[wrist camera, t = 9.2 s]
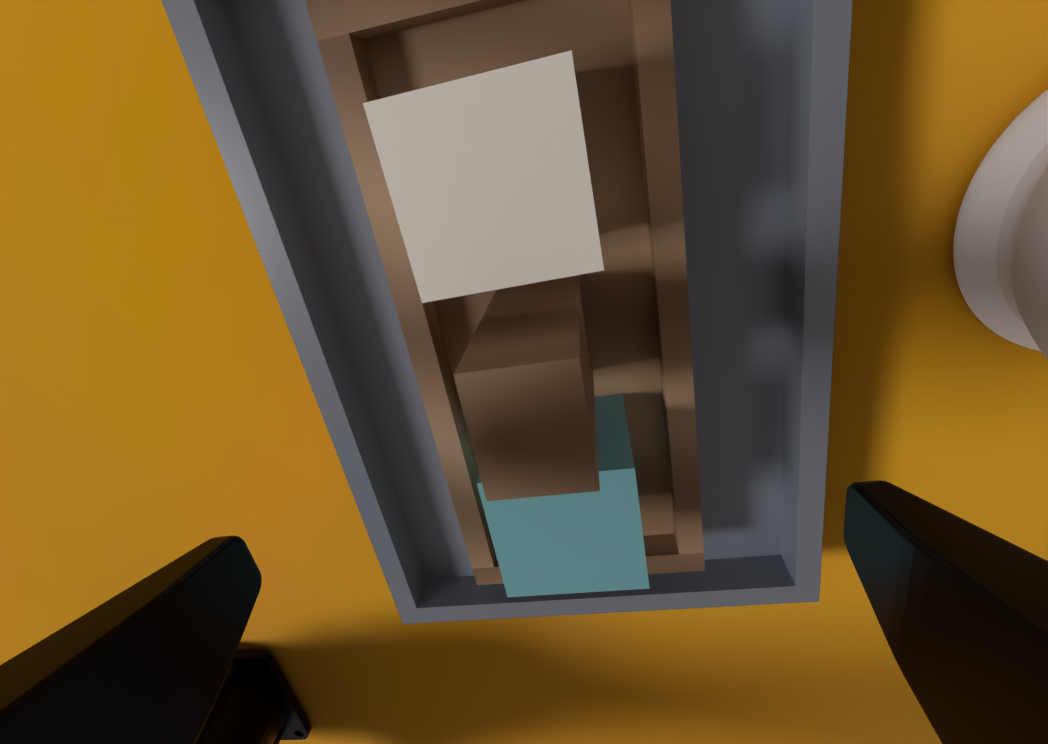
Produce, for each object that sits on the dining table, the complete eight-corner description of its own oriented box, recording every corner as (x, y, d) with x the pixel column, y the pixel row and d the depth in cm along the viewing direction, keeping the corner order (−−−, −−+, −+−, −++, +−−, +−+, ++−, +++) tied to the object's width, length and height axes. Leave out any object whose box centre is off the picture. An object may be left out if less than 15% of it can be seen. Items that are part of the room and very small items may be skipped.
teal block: (635, 496, 18) (649, 588, 14) (521, 506, 19) (507, 597, 15) (622, 393, 16) (634, 467, 13) (498, 408, 17) (476, 483, 13)
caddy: (693, 529, 20) (747, 720, 13) (486, 545, 21) (445, 726, 15) (652, -63, 12) (728, -258, 6) (341, 16, 14) (138, -77, 7)
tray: (793, 550, 21) (818, 601, 19) (420, 575, 23) (402, 623, 21) (813, -218, 12) (868, -299, 10) (203, -42, 14) (132, -74, 12)
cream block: (597, 234, 14) (604, 270, 11) (459, 261, 15) (421, 303, 12) (573, 72, 13) (571, 50, 9) (420, 109, 14) (362, 103, 10)
